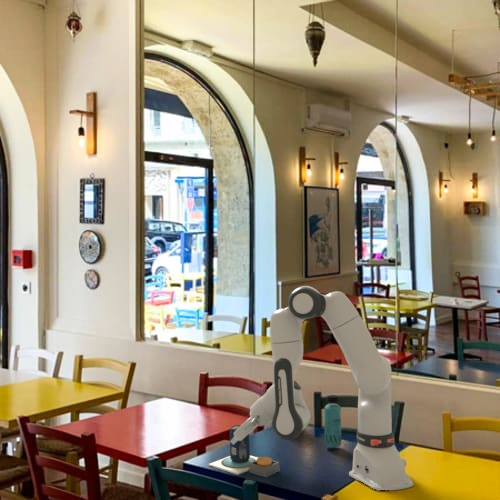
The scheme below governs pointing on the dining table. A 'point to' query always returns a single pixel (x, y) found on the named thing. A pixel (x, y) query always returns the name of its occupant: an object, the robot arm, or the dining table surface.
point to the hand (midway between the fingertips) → (236, 438)
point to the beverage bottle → (332, 423)
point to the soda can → (239, 448)
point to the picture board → (233, 465)
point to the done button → (264, 461)
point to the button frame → (264, 469)
